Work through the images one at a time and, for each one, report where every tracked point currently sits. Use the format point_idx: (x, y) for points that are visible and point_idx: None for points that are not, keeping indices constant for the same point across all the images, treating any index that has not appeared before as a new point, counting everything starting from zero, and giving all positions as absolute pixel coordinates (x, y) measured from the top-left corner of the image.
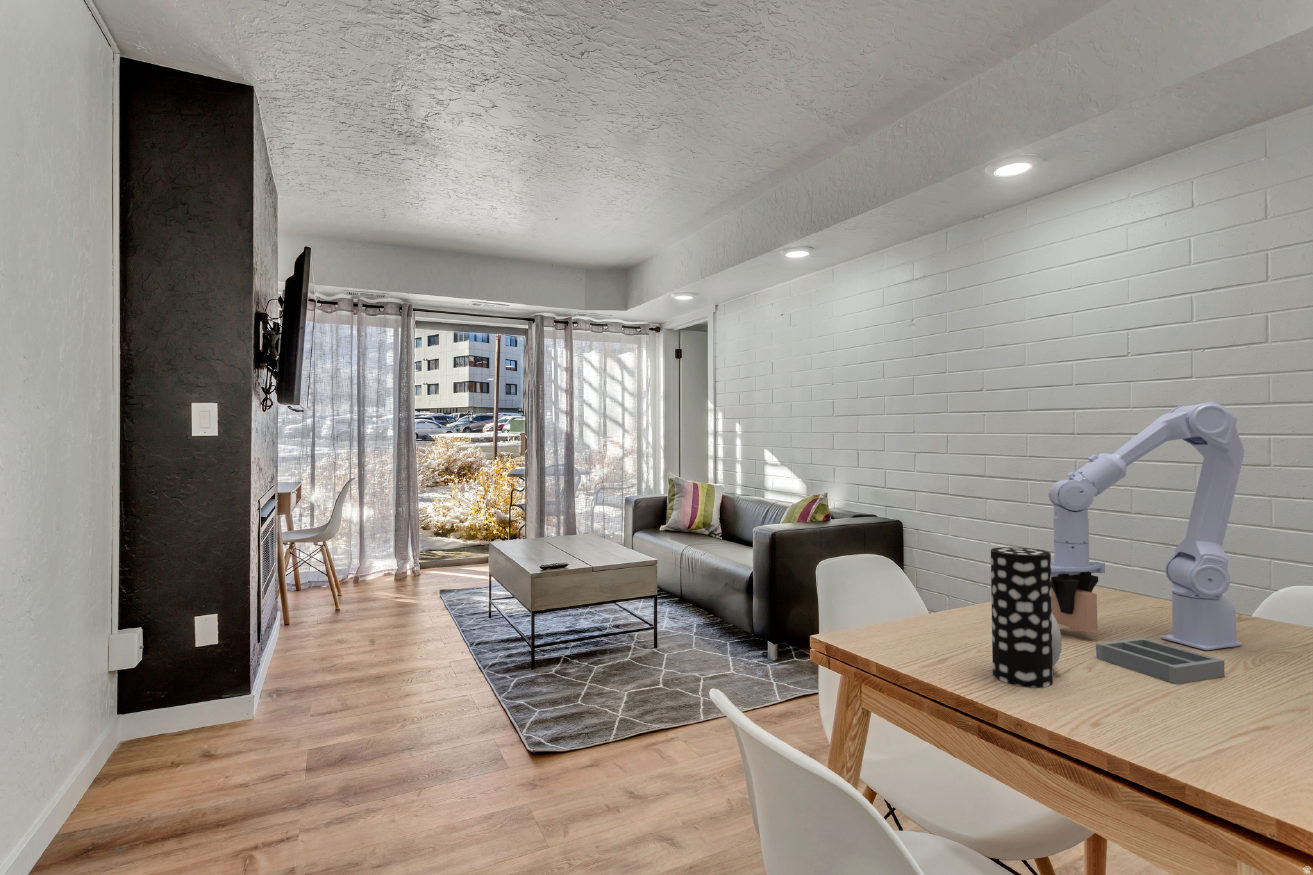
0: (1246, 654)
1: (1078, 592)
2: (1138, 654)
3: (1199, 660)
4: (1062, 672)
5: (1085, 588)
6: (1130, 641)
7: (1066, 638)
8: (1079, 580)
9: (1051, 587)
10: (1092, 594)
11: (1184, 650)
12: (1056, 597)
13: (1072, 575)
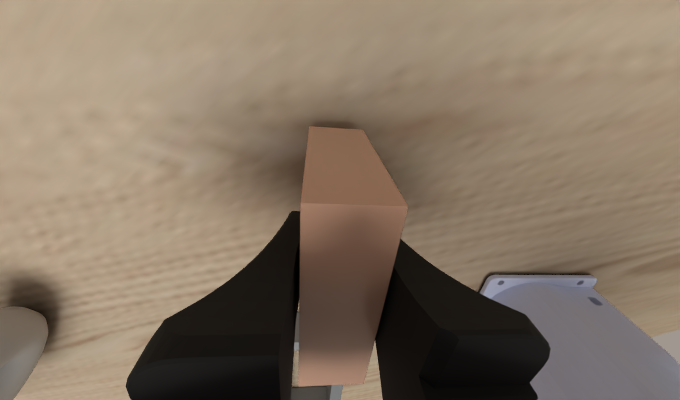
0: None
1: (304, 358)
2: None
3: (328, 395)
4: (69, 343)
5: (380, 360)
6: (297, 349)
7: (278, 201)
8: (398, 385)
9: (301, 216)
10: (335, 382)
11: (336, 391)
12: (268, 243)
13: (430, 379)
